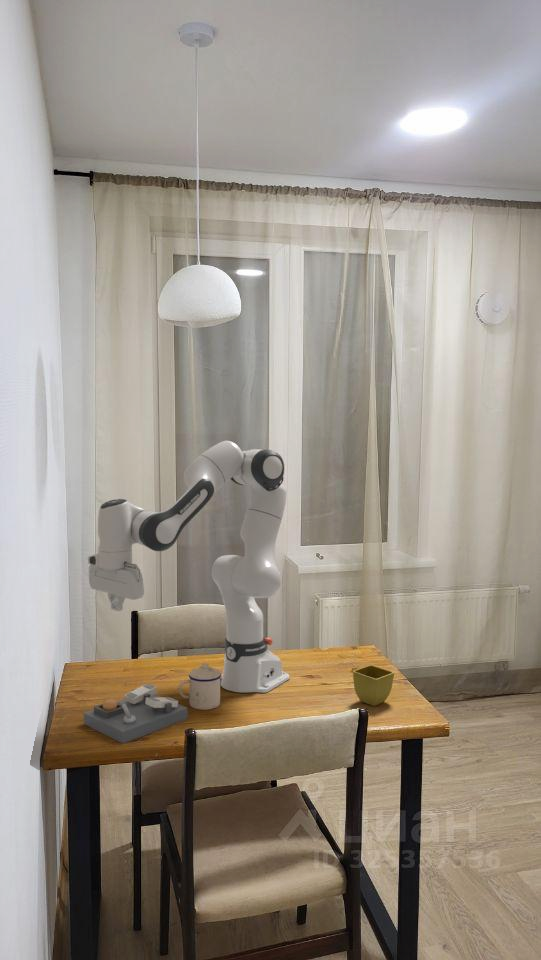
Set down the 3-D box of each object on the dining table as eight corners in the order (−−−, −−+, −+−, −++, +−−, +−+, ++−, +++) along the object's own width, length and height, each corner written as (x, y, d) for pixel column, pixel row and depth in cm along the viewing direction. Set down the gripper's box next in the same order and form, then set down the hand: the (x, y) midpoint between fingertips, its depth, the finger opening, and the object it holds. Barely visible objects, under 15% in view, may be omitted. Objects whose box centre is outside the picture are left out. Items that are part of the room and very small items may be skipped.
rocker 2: (167, 703, 198) (168, 696, 198) (177, 707, 195) (178, 700, 195) (144, 703, 192) (146, 696, 192) (154, 707, 189) (155, 701, 189)
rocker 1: (148, 688, 204) (147, 682, 204) (157, 692, 201) (156, 686, 201) (124, 700, 198) (124, 694, 198) (133, 704, 196) (133, 698, 195)
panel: (145, 701, 207) (145, 673, 207) (187, 718, 195) (187, 689, 195) (81, 722, 192) (81, 692, 191) (123, 743, 180) (123, 711, 179)
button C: (111, 706, 194) (111, 697, 194) (119, 710, 192) (119, 701, 192) (100, 710, 192) (100, 701, 191) (108, 714, 189) (108, 705, 189)
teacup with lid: (217, 697, 211) (218, 657, 210) (223, 709, 202) (224, 668, 202) (176, 700, 208) (176, 660, 207) (180, 712, 199) (180, 671, 199)
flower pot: (394, 702, 209) (395, 671, 208) (375, 710, 203) (376, 679, 202) (370, 694, 215) (370, 664, 215) (351, 701, 209) (351, 671, 209)
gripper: (149, 563, 192) (150, 614, 193) (103, 553, 206) (104, 601, 207) (129, 567, 187) (131, 619, 189) (84, 556, 201) (85, 605, 202)
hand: (116, 609), depth 198 cm, fingers closed
